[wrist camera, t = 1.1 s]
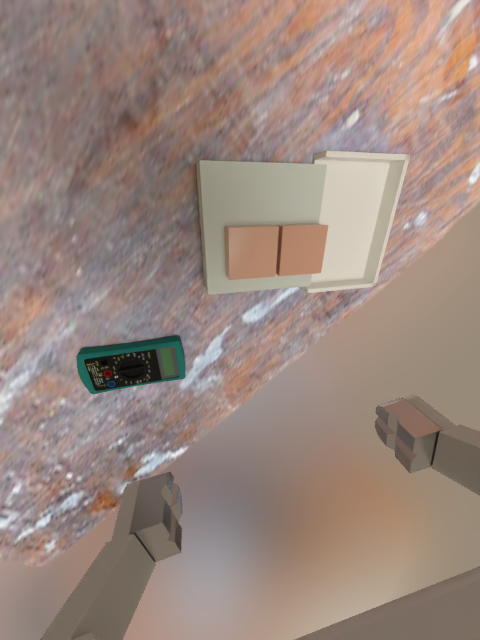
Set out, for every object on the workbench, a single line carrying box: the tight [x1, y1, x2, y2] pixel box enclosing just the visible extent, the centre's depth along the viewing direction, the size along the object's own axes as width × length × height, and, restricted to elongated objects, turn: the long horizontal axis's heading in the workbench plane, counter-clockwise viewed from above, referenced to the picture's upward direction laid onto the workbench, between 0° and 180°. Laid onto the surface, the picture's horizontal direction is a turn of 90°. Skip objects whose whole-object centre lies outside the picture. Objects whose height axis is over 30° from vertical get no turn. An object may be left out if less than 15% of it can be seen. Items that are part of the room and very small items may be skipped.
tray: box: [300, 151, 410, 293], centre depth 35 cm, size 18×12×3 cm
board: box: [196, 160, 327, 295], centre depth 32 cm, size 15×15×4 cm
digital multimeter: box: [77, 336, 185, 394], centre depth 37 cm, size 7×15×3 cm, turn 91°
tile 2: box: [225, 225, 279, 280], centre depth 30 cm, size 6×6×2 cm
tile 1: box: [276, 224, 328, 276], centre depth 31 cm, size 6×6×2 cm
